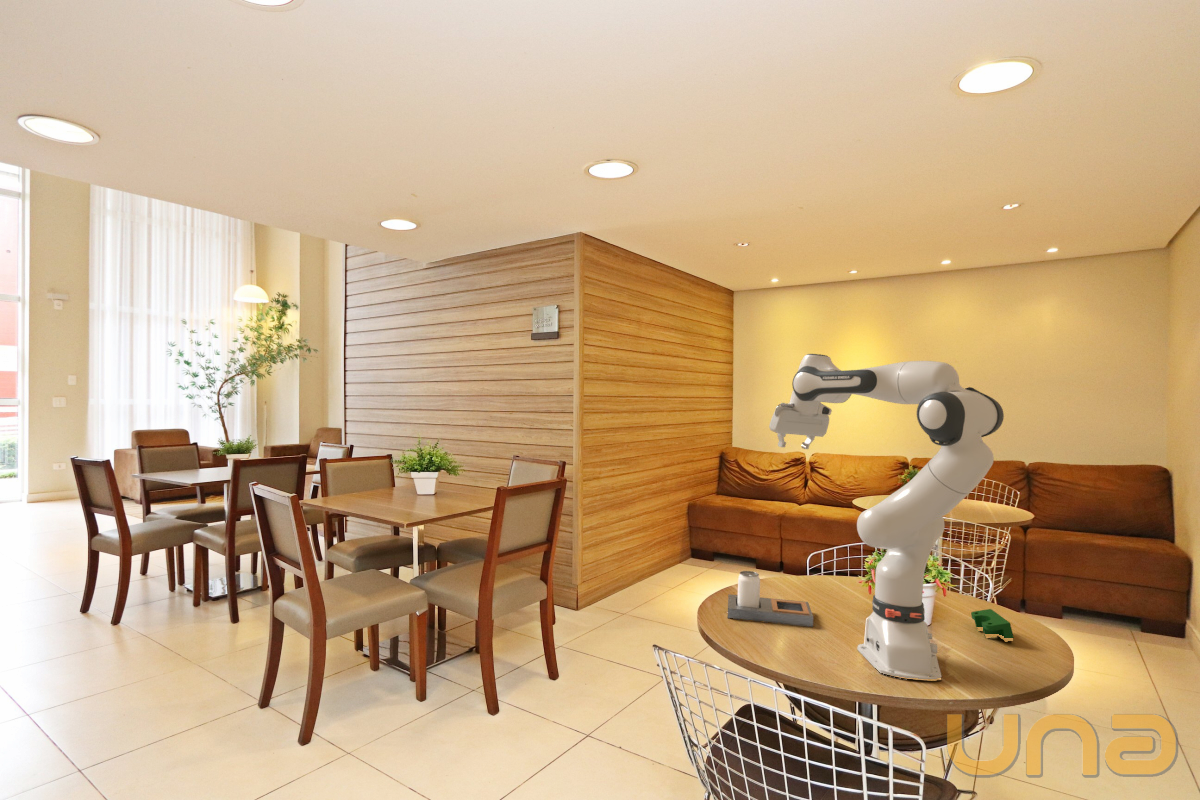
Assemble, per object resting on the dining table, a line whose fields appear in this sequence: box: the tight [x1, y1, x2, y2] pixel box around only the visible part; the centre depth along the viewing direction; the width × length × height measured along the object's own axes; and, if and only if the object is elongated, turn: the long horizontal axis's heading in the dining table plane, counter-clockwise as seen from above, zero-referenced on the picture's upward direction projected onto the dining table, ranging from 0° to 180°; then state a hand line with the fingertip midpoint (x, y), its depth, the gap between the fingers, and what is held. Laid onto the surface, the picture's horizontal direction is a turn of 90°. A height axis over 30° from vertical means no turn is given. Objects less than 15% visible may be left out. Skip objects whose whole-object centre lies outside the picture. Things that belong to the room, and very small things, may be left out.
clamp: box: [970, 608, 1015, 639], centre depth 175 cm, size 12×6×9 cm, turn 166°
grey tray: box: [727, 594, 814, 628], centre depth 186 cm, size 13×24×3 cm, turn 78°
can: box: [737, 570, 761, 608], centre depth 188 cm, size 6×6×12 cm
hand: (793, 447), depth 193 cm, fingers open, 8 cm apart
